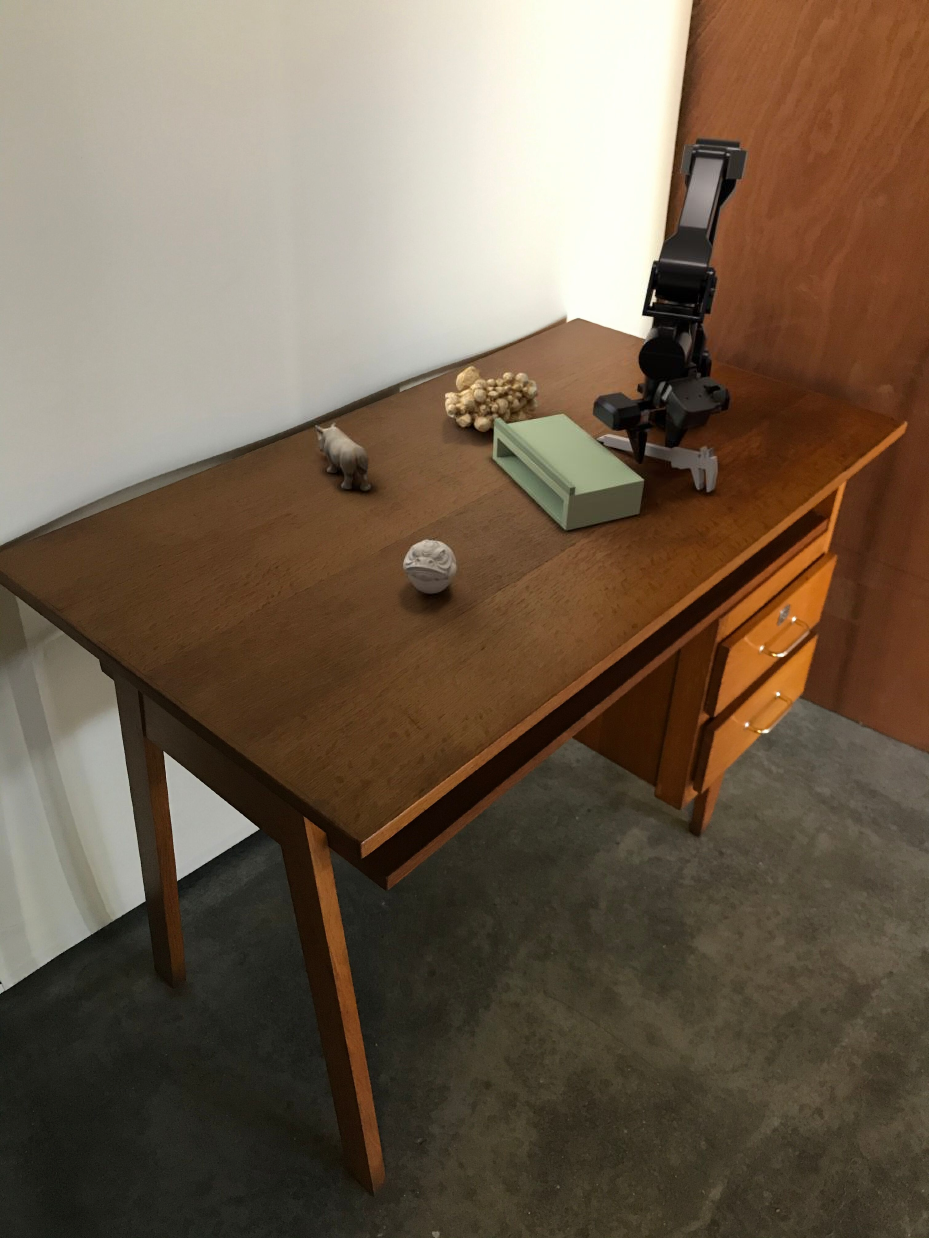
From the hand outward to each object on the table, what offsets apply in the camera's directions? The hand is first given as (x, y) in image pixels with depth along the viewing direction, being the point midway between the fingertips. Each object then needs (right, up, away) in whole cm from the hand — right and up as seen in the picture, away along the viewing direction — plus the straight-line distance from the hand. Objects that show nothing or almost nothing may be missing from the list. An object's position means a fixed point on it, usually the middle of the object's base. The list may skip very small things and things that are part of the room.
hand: (653, 459), depth 141 cm
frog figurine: (-31, -19, -25) cm, 44 cm away
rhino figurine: (-44, -2, -3) cm, 44 cm away
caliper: (0, -1, +1) cm, 1 cm away
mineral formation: (-24, +7, +10) cm, 27 cm away
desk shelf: (-13, -4, -4) cm, 15 cm away
